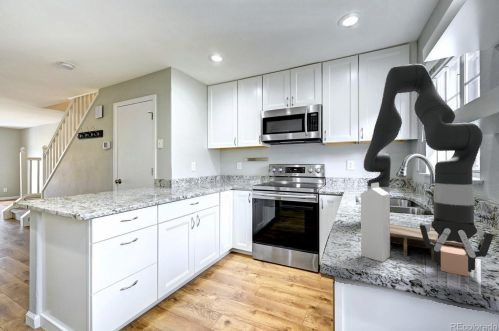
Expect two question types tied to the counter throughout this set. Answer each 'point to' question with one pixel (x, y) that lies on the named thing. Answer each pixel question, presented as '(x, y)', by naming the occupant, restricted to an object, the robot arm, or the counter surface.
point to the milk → (375, 223)
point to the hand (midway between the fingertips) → (453, 267)
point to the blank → (454, 259)
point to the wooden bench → (415, 238)
